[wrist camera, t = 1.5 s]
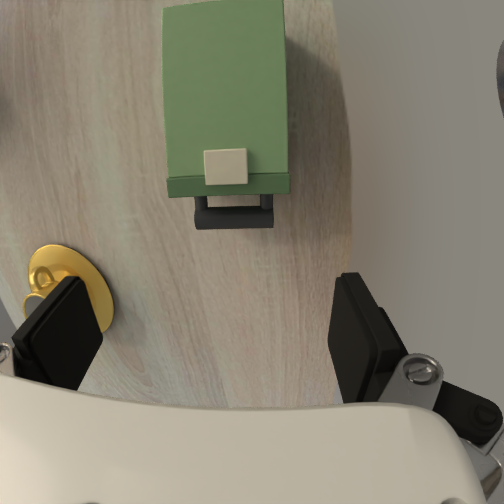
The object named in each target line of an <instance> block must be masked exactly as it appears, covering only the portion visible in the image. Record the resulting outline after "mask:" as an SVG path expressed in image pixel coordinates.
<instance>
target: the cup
mask: <svg viewBox="0 0 504 504" xmlns="http://www.w3.org/2000/svg"><path fill="white" fill-rule="evenodd" d="M66 276H79V277H80V278H81V279H82V280H83V281H84V282H85V284H86V288H87V291H88V294H89V297H90V300H91V304H92V307H93V310H94V313H95V315H96V318H97V321H98V324H99V327H100V330H101V332H102V333H103V332H104V331H106V330H107V329H108V327H109V326H110V324H111V322H112V319H113V314H114V306H113V300H112V296H111V293H110V290H109V288H108V286H107V284H106V282H105V280H104V279H103V277H102V276H101V274H100V273H99V272H98V270H97V269H96V268H95V267H94V266H93V265H92V264H91V263H90V262H89V261H88V260H87V259H86V258H84V257H83V256H82V255H80V254H79V253H77V252H76V251H74V250H72V249H70V248H67V247H64V246H60V245H47V246H44V247H42V248H40V249H38V250H37V251H36V252H35V253H34V254H33V256H32V257H31V260H30V262H29V266H28V281H29V286H30V289H31V293H30V294H28V295H27V296H26V297H25V298H24V301H23V313H24V316H25V319H27V318H28V317H29V316H30V315H31V313H32V312H33V311H34V310H35V309H36V308H37V307H38V305H39V304H40V303H41V302H42V301H43V300H44V299H45V298H46V297H47V295H48V294H49V293H50V292H51V291H52V290H53V289H54V288H55V287H56V286H57V285H58V284H59V282H60V281H61V280H62V279H63V278H64V277H66Z"/></svg>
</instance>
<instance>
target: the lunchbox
mask: <svg viewBox="0 0 504 504" xmlns="http://www.w3.org/2000/svg"><path fill="white" fill-rule="evenodd" d="M162 87H163V110H164V128H165V143H166V156H167V168H168V177H169V178H167V191H168V197H169V198H177V197H194V198H195V214H194V222H195V227H196V229H197V230H206V229H246V228H273V226H274V214H273V194H290V173H289V172H288V102H287V68H286V43H285V22H284V4H283V0H218V1H208V2H199V3H191V4H184V5H178V6H172V7H166V8H162ZM252 194H260V206H227V207H208V202H207V196H219V195H252Z"/></svg>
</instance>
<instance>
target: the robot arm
mask: <svg viewBox="0 0 504 504" xmlns="http://www.w3.org/2000/svg"><path fill="white" fill-rule="evenodd" d="M12 340H13V342H14V344H15V347H14V348H12V346H11V345H10V344H9V343H6V342H1V343H0V504H504V424H503V416H502V412H501V411H500V409H499V407H498V406H497V405H496V404H495V403H493V402H492V401H490V400H488V399H486V398H483V397H481V396H479V395H476V394H474V393H471V392H469V391H466V390H464V389H462V388H459V387H457V386H455V385H452V384H450V383H448V382H445V381H443V374H444V372H443V369H442V367H441V365H440V364H439V362H437V361H436V360H435V359H434V358H432V357H430V356H428V355H425V354H420V353H418V354H416V353H413V354H408V352H407V350H406V348H405V346H404V344H403V342H402V341H401V339H400V337H399V335H398V333H397V331H396V330H395V328H394V326H393V324H392V323H391V321H390V319H389V317H388V316H387V314H386V312H385V310H384V309H383V308H382V307H378V305H377V304H376V302H375V300H374V299H373V297H372V295H371V293H370V291H369V290H368V288H367V286H366V285H365V283H364V281H363V279H362V278H361V276H360V274H359V273H357V272H356V273H342V274H341V277H337V278H336V281H335V290H334V297H333V305H332V312H331V319H330V326H329V333H328V347H329V351H330V354H331V358H332V361H333V365H334V369H335V373H336V376H337V380H338V384H339V388H340V391H341V395H342V399H343V403H344V404H328V405H314V406H297V407H264V408H230V407H202V406H186V405H172V404H161V403H152V402H143V401H135V400H127V399H120V398H113V397H107V396H101V395H95V394H90V393H84V392H79V391H77V390H78V388H79V386H80V384H81V382H82V380H83V378H84V376H85V374H86V372H87V370H88V368H89V366H90V364H91V363H92V361H93V359H94V357H95V355H96V353H97V351H98V350H99V348H100V346H101V344H102V341H103V336H102V332H101V330H100V327H99V324H98V321H97V318H96V315H95V313H94V310H93V307H92V304H91V300H90V297H89V294H88V291H87V288H86V284H85V282H84V281H83V280H82V279H81V278H80V277H79V276H66V277H64V278H63V279H62V280H61V281H60V282H59V284H58V285H57V286H56V287H55V288H54V289H53V290H52V291H51V292H50V293H49V294H48V295H47V297H46V298H45V299H44V300H43V301H42V302H41V303H40V304H39V305H38V307H37V308H36V309H35V310H34V311H33V312H32V313H31V315H30V316H29V317H28V318H27V319H26V320H25V322H24V323H23V324H22V325H21V326H20V328H19V329H18V330H17V331H16V332H15V334H14V335H13V336H12Z"/></svg>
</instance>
